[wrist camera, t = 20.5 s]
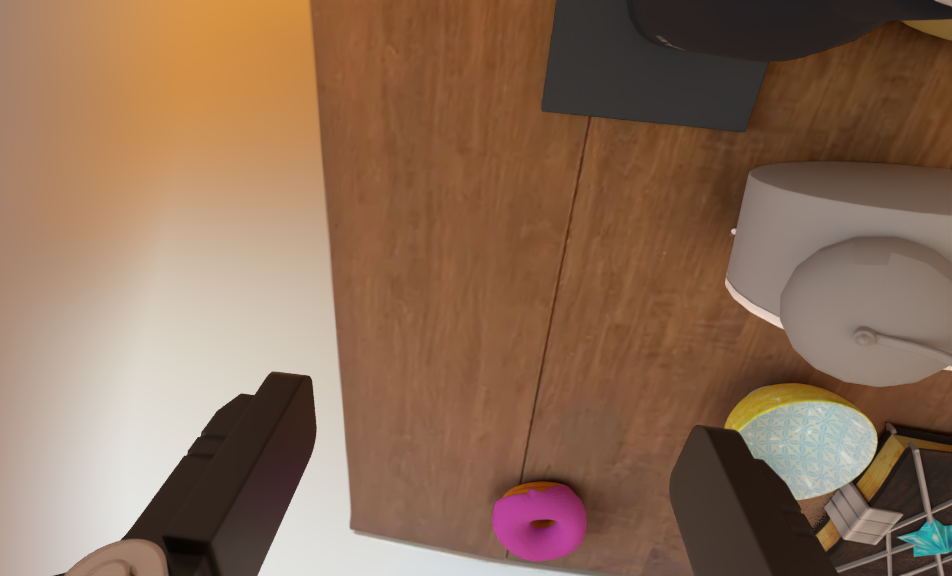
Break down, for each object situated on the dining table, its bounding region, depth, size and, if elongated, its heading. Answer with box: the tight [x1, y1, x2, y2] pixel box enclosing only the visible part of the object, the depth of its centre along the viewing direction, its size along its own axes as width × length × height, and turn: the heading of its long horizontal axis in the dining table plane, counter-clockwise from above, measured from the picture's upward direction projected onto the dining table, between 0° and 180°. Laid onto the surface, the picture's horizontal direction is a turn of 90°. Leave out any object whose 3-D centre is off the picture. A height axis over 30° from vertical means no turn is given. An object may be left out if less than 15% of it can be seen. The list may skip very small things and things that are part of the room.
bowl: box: [724, 383, 878, 500], centre depth 42 cm, size 11×12×6 cm
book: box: [813, 422, 952, 576], centre depth 47 cm, size 22×17×5 cm
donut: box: [492, 481, 587, 561], centre depth 52 cm, size 10×10×5 cm
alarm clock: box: [725, 161, 952, 387], centre depth 26 cm, size 16×9×22 cm, turn 91°
